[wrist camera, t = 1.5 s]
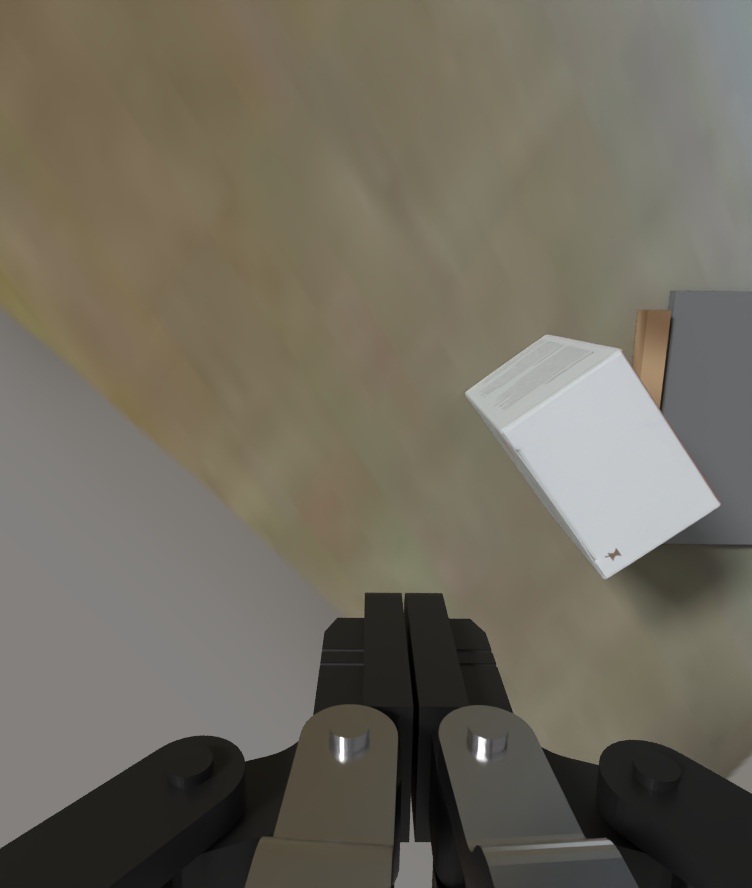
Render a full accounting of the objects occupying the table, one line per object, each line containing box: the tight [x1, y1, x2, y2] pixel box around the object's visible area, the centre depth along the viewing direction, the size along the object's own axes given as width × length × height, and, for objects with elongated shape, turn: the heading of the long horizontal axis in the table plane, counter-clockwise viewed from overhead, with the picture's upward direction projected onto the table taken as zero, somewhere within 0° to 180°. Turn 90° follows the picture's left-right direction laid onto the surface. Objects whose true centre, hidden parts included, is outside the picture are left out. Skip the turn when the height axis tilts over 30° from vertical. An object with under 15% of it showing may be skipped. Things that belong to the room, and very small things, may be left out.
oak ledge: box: [632, 310, 671, 409], centre depth 34 cm, size 12×1×1 cm, turn 179°
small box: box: [465, 335, 721, 579], centre depth 29 cm, size 8×6×10 cm
